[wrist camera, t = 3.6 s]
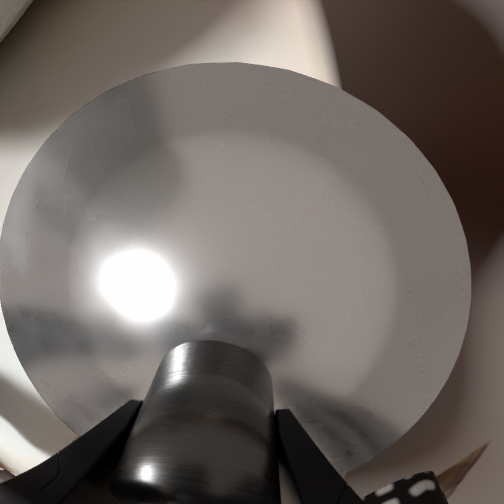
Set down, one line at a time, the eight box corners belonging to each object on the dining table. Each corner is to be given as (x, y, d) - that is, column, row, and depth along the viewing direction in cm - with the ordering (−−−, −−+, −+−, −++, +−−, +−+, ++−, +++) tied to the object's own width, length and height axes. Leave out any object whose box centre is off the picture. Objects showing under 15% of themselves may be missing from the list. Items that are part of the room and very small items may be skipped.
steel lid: (390, 459, 12) (416, 530, 7) (94, 457, 13) (66, 520, 7) (467, 105, 7) (589, 90, 1) (-7, 140, 7) (-110, 149, 1)
